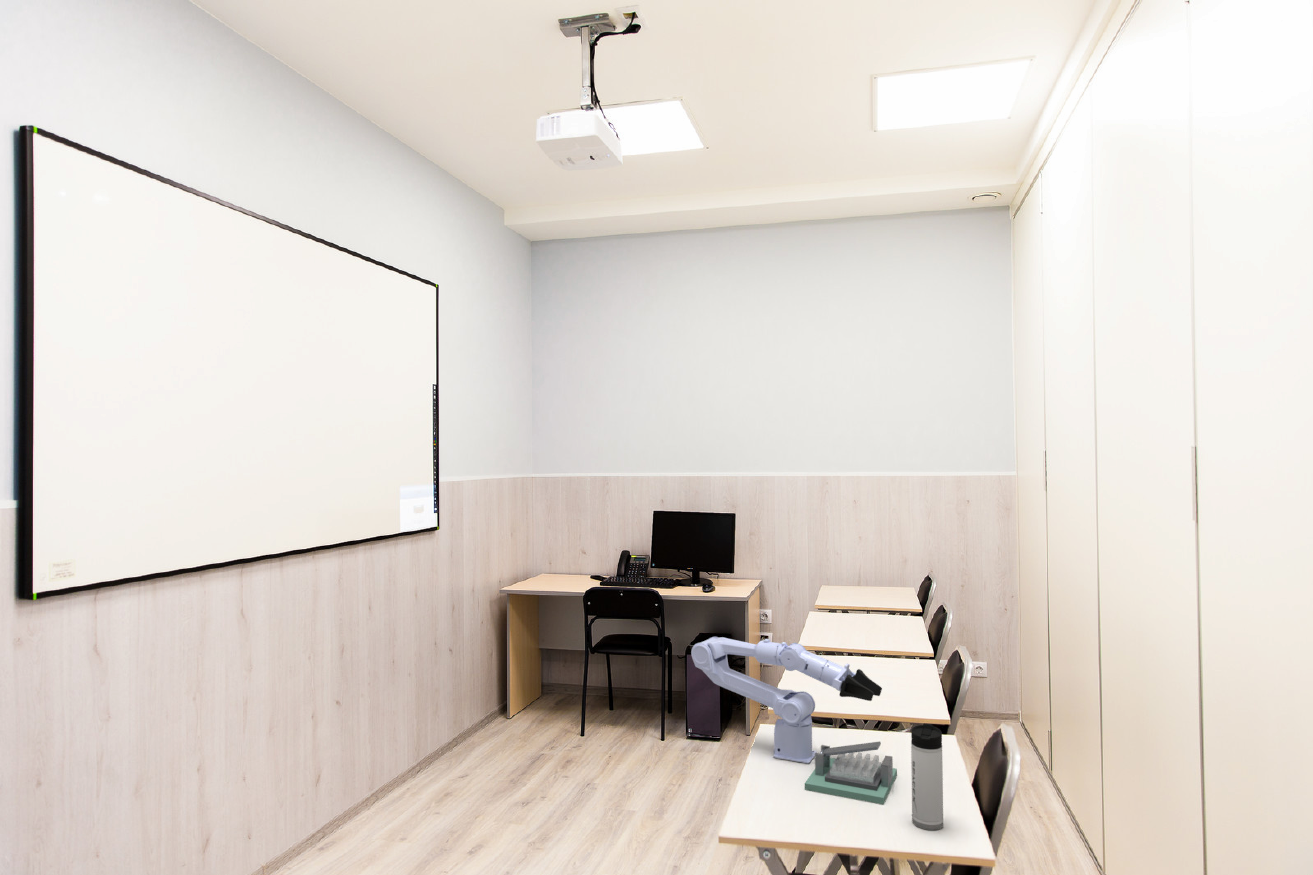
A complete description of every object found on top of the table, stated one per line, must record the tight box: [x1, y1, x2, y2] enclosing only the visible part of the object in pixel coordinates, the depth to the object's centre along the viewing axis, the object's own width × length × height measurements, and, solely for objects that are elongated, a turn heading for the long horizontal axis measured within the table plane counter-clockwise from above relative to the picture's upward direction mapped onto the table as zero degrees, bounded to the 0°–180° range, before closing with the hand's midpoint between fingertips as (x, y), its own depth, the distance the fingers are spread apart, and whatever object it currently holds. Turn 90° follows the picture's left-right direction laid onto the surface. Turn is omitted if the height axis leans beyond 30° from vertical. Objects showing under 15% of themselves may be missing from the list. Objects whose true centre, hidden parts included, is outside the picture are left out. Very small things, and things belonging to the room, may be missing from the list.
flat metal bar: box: [819, 741, 881, 757], centre depth 187 cm, size 14×4×1 cm, turn 64°
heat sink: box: [814, 744, 894, 787], centre depth 186 cm, size 17×10×5 cm, turn 64°
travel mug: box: [910, 722, 944, 831], centre depth 165 cm, size 6×7×20 cm
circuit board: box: [804, 757, 898, 805], centre depth 186 cm, size 18×18×2 cm
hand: (876, 694), depth 192 cm, fingers open, 7 cm apart
